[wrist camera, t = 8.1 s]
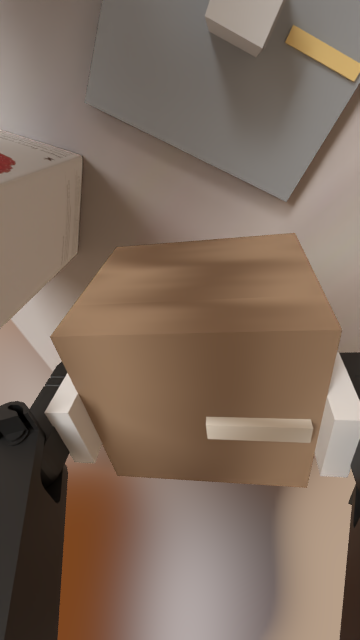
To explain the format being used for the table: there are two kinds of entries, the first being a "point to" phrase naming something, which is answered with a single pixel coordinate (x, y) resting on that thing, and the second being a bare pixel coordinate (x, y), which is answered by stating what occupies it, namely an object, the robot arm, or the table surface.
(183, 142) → the plate
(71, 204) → the supplement box
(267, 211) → the table surface
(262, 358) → the brown cardboard crate
